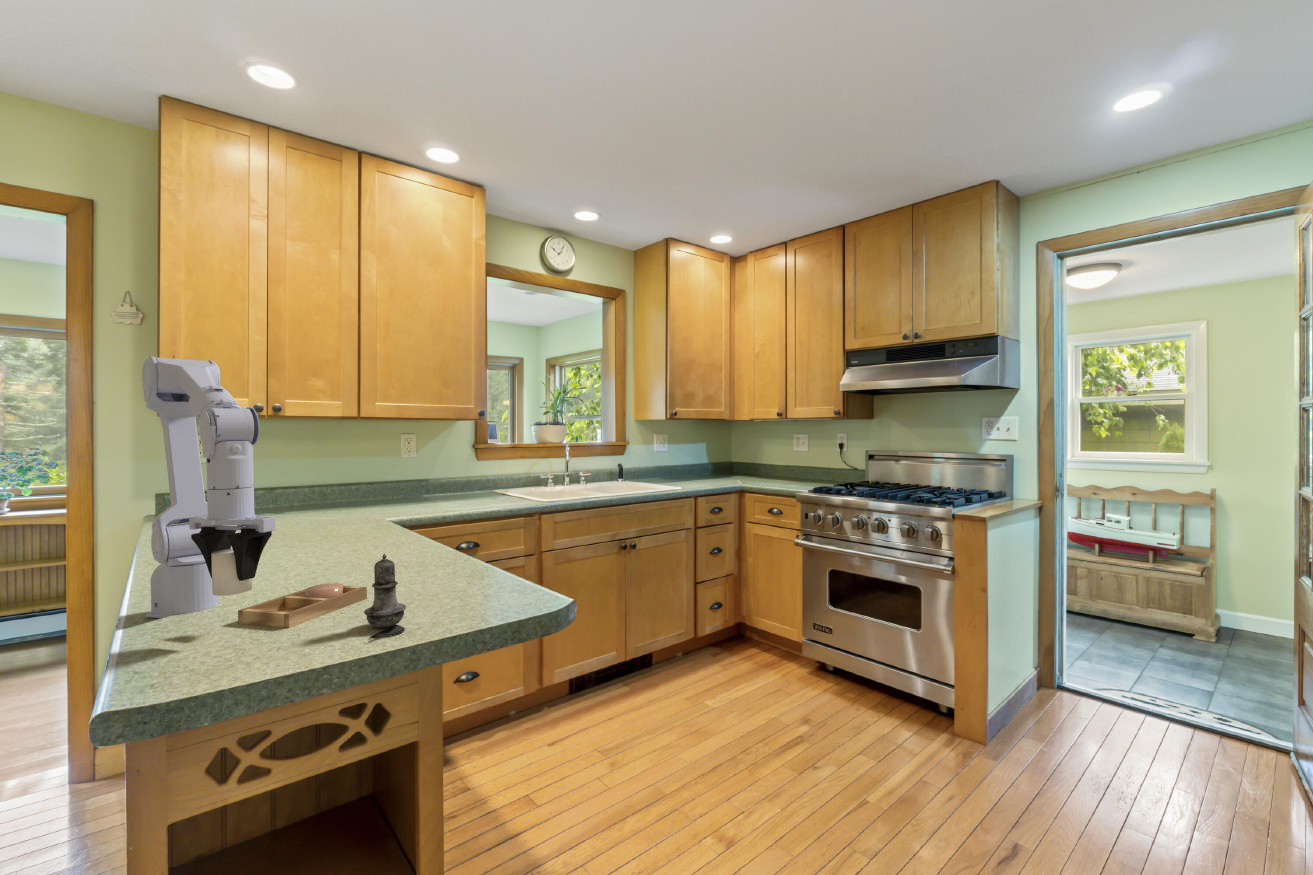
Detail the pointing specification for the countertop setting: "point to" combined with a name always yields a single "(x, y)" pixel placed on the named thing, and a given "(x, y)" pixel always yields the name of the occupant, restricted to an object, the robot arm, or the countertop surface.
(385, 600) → the salt shaker
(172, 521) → the robot arm
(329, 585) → the pinkish tan dome
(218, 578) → the cream cylinder
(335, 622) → the countertop surface
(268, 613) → the tray
